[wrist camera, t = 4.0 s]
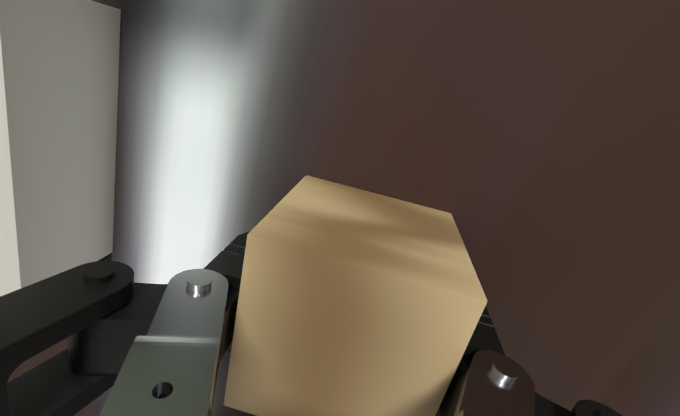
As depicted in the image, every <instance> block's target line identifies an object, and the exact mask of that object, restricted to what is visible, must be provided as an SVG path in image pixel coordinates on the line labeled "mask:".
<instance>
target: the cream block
mask: <svg viewBox="0 0 680 416" xmlns="http://www.w3.org/2000/svg"><path fill="white" fill-rule="evenodd" d="M120 19H121V9H117V8H114V7H111V6H107V5H104V4H101V3H97V2H94V1H91V0H0V296H3V295H6V294H8V293H11V292H13V291H16V290H18V289H21V288H23V287H26V286H28V285H31V284H34V283H36V282H39V281H41V280H44V279H46V278H49V277H51V276H54V275H56V274H59V273H61V272H64V271H67V270H69V269H72V268H74V267H77V266H79V265H82V264H86V263H90V262H96V261H98V260H100V259H102V258H104V257H105V256H107V255H109V254H110V253H112V250H113V221H114V192H115V163H116V134H117V105H118V77H119V48H120Z"/></svg>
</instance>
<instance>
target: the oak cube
mask: <svg viewBox="0 0 680 416" xmlns="http://www.w3.org/2000/svg"><path fill="white" fill-rule="evenodd" d="M486 304H487V299H486V296H485V294H484V292H483V289H482V287H481V284H480V282H479V279H478V277H477V275H476V272H475V270H474V267H473V265H472V263H471V260H470V258H469V255H468V253H467V250H466V248H465V246H464V243H463V241H462V238H461V236H460V234H459V231H458V229H457V226H456V224H455V222H454V219H453V217H452V214H451V213H448V212H444V211H440V210H436V209H433V208H429V207H425V206H421V205H417V204H414V203H410V202H406V201H402V200H398V199H395V198H391V197H387V196H383V195H379V194H376V193H372V192H368V191H364V190H360V189H357V188H353V187H349V186H345V185H341V184H338V183H334V182H330V181H326V180H322V179H319V178H315V177H311V176H307V175H306V176H305V177H304V178H303V179H302V180H301V181H300V182H299V183H298V184H297V185H296V186H295V187H294V188H293V189H292V190H291V191H290V192H289V193H288V194H287V195H286V196H285V197H284V198H283V199H282V200H281V201H280V202H279V203H278V204H277V205H276V206H275V207H274V208H273V209H272V210H271V211H270V212H269V213H268V214H267V215H266V216H265V217H264V218H263V219H262V220H261V221H260V222H259V223H258V224H257V225H256V226H255V227H254V228H253V229H252V230H251V231H250V232H249V233H248V234H247V241H246V248H245V255H244V262H243V269H242V277H241V284H240V291H239V298H238V305H237V312H236V319H235V327H234V334H233V341H232V348H231V355H230V362H229V369H228V377H227V384H226V391H225V398H224V406H228V407H231V408H234V409H237V410H240V411H244V412H247V413H250V414H253V415H256V416H435V415H436V413H437V411H438V409H439V407H440V404H441V402H442V400H443V398H444V396H445V393H446V391H447V389H448V387H449V385H450V383H451V380H452V378H453V376H454V374H455V372H456V369H457V367H458V365H459V363H460V361H461V358H462V356H463V354H464V352H465V350H466V347H467V345H468V343H469V341H470V339H471V337H472V334H473V332H474V330H475V328H476V326H477V323H478V321H479V319H480V317H481V315H482V312H483V310H484V308H485V306H486Z"/></svg>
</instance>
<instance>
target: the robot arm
mask: <svg viewBox="0 0 680 416" xmlns="http://www.w3.org/2000/svg"><path fill="white" fill-rule="evenodd" d="M249 232H250V231H249ZM249 232H246V233H244V234H241V235H238V236H237V237H236V238H235V239H234V240H233V241H232V242H231V244H229V245H228V246H227V247H226V248H225V249H224V251H222V252H221V253H220V254H218V255H217V256H216V257H215V258H214V259H213V260H212V261H211V262H210V263H209V264H208V265H207V266H206V267H205V268H204V269H192V270H187V271H183V272H181V273H179V274H177V275H175V276H174V277H172V279H171V280H170V281H169V283H168V284H146V283H134V272H133V270H132V268H131V267H129V266H128V265H126V264H123V263H120V262H115V261H96V262H90V263H86V264H82V265H79V266H77V267H74V268H72V269H69V270H67V271H64V272H61V273H59V274H56V275H54V276H51V277H49V278H46V279H44V280H41V281H39V282H36V283H34V284H31V285H28V286H26V287H23V288H21V289H18V290H16V291H13V292H11V293H8V294H6V295H3V296H0V416H73V415H75V414H76V413H77V412H79V411H80V410H81V409H83V408H84V407H85V406H87V405H88V404H89V403H91V402H92V401H93V400H95V399H96V398H97V397H99V396H100V395H101V394H103V393H104V392H105V391H107V390H108V389H109V388H111V387H112V386H113V387H112V389H111V392H110V394H109V396H108V398H107V400H106V402H105V405H104V407H103V409H102V411H101V413H100V416H211V414H212V407H213V400H214V394H215V387H216V380H217V374H218V367H219V361H220V360H221V358H222V356H223V355H224V353H225V352H226V350H228V351H231V348H232V341H233V334H234V327H235V319H236V312H237V305H238V298H239V291H240V284H241V277H242V269H243V262H244V255H245V248H246V241H247V234H248V233H249ZM65 338H67V347H68V348H67V349H66V350H64V351H62V352H61V353H59V354H57V355H55V356H54V357H52V358H50V359H48V360H47V361H45V362H43V363H42V364H40V365H38V366H36V367H35V368H33V369H31V370H30V371H28V372H26V373H24V374H23V375H21V376H19V377H17V378H16V379H14V380H12V381H11V382H9V383H7V381H8V378H9V377H10V375H11V374H12V372H13V371H14V370H15V369H16V368H17V367H18V366H19V365H20V364H22V363H23V362H24V361H26V360H27V359H29V358H31V357H33V356H35V355H36V354H38V353H40V352H42V351H44V350H45V349H47V348H49V347H51V346H53V345H54V344H56V343H58V342H60V341H62V340H63V339H65ZM436 414H438V415H441V416H622V415H620V414H619V413H617V412H616V411H614V410H613V409H611V408H609V407H607V406H605V405H603V404H601V403H598V402H595V401H592V400H580V401H578V402H577V403H576V405H575V406H574V408H573V409H572V411H569V410H567V409H565V408H563V407H561V406H559V405H557V404H555V403H553V402H552V401H550V400H548V399H546V398H544V397H542V396H540V395H539V394H537V393H536V392H535V387H534V383H533V381H532V379H531V377H530V376H529V375H528V373H527V372H526V371H525V370H524V369H523V368H522V367H521V366H520V365H519V364H518V363H516V362H515V361H514V360H512V359H511V358H509V357H507V356H505V354H504V351H503V349H502V346H501V344H500V341H499V339H498V336H497V334H496V331H495V328H494V327H493V323H492V321H491V318H489V313H488V311H487V308H486V306H485V308H484V310H483V312H482V315H481V317H480V319H479V321H478V323H477V326H476V328H475V330H474V332H473V334H472V337H471V339H470V341H469V343H468V345H467V347H466V350H465V352H464V354H463V356H462V358H461V361H460V363H459V365H458V367H457V369H456V372H455V374H454V376H453V378H452V380H451V383H450V385H449V387H448V389H447V391H446V393H445V396H444V398H443V400H442V402H441V404H440V407H439V409H438V411H437V413H436Z"/></svg>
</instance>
